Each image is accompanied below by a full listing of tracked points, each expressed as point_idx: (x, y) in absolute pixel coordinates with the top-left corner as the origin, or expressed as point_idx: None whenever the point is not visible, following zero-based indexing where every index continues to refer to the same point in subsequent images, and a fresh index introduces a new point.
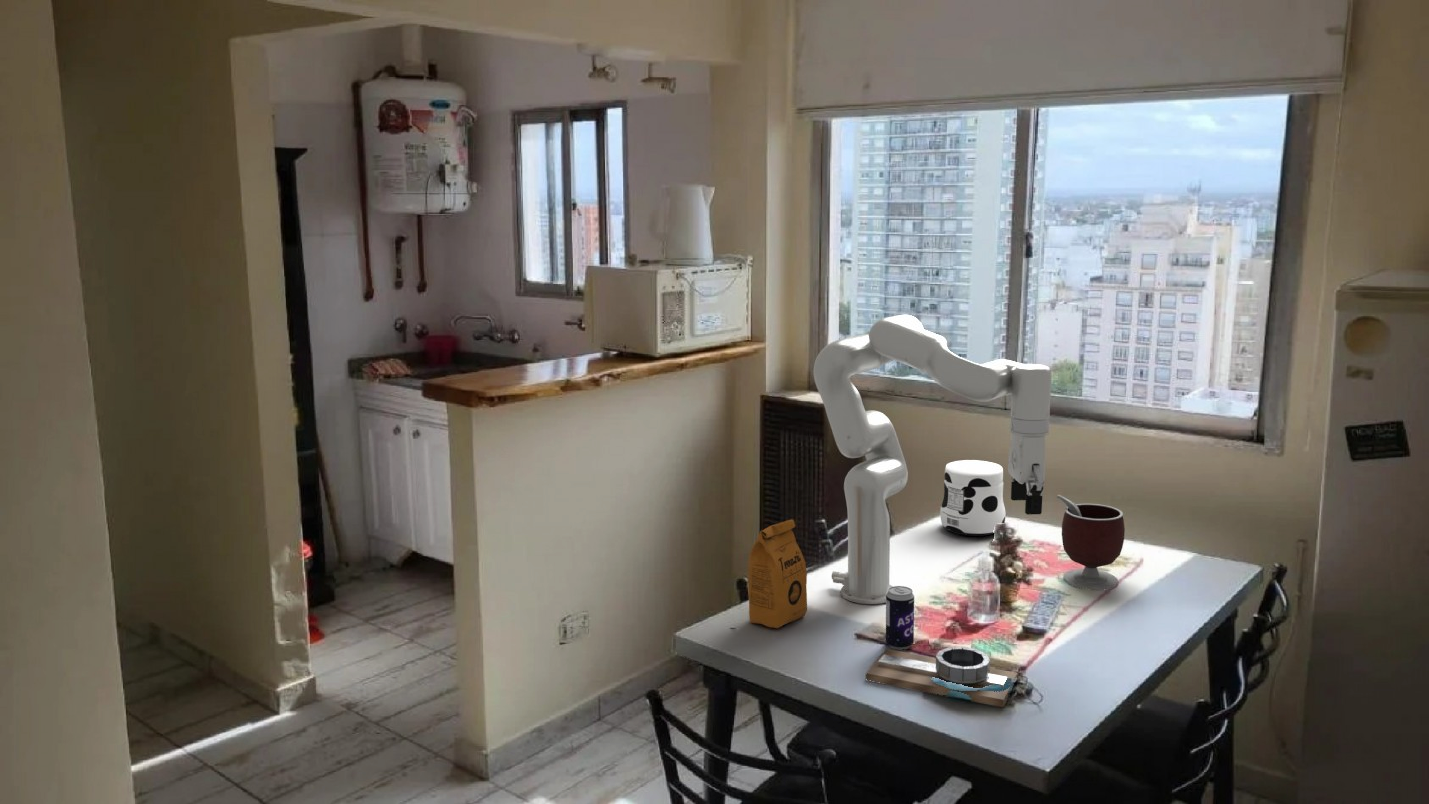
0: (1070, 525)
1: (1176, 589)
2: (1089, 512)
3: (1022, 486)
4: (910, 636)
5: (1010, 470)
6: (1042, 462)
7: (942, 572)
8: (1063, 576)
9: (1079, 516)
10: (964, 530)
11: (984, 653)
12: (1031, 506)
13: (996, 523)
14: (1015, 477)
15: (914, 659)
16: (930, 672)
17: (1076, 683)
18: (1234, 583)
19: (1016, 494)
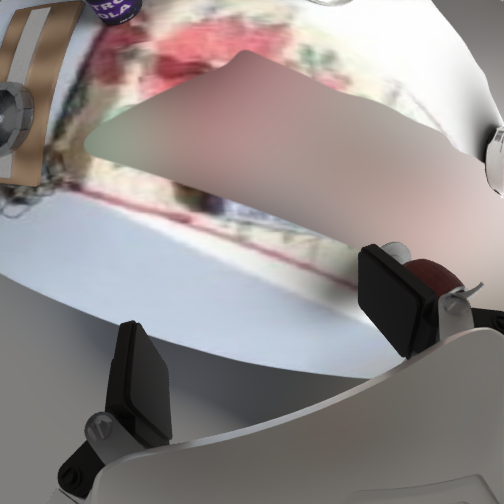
0: (432, 288)
1: (355, 343)
2: None
3: (397, 330)
4: (101, 18)
5: (446, 390)
6: None
7: (412, 89)
8: (397, 243)
9: None
10: (489, 145)
11: (10, 146)
12: (110, 373)
13: (494, 183)
14: (246, 457)
15: (49, 43)
16: (8, 78)
17: (58, 254)
18: (361, 374)
19: (374, 281)
